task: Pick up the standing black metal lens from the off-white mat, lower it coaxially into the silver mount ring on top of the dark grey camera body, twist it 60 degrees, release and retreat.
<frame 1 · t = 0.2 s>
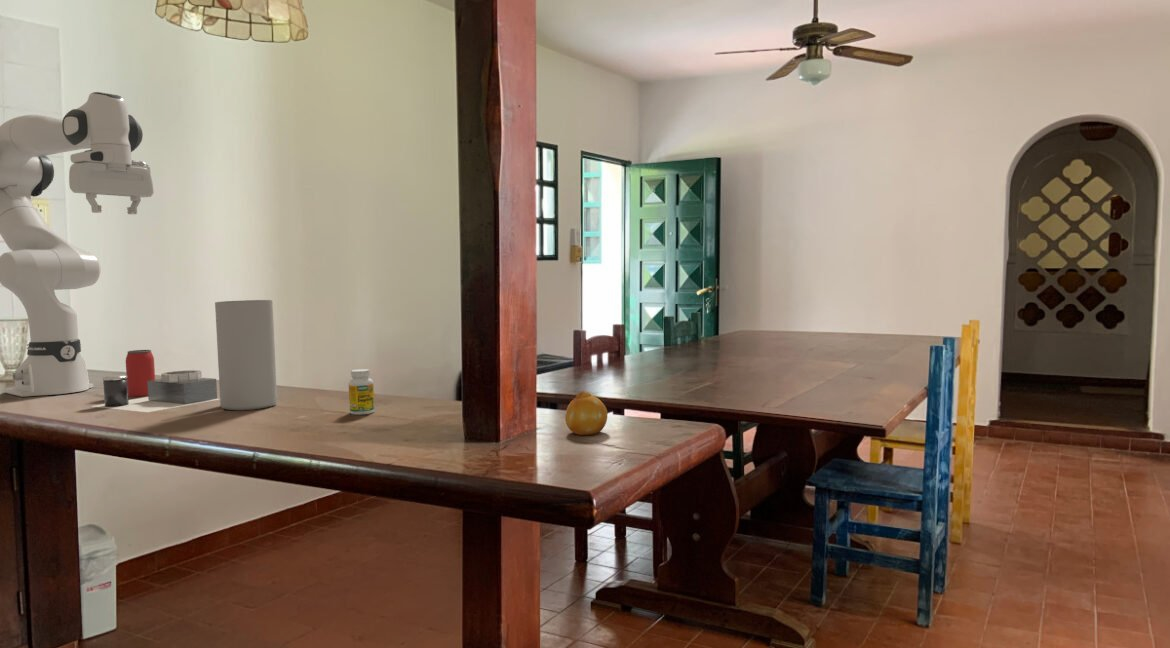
hand: (114, 213, 210), 47 cm above the breakfast bar, fingers open, 8 cm apart
supplement bottle: (362, 413, 186), on the breakfast bar
camera body: (182, 399, 208), resting on mat
lens: (116, 405, 201), resting on mat
beer can: (142, 397, 217), on the breakfast bar
fruit: (586, 434, 158), on the breakfast bar
cylinder vase: (249, 407, 198), on the breakfast bar
mat: (157, 404, 204), on the breakfast bar
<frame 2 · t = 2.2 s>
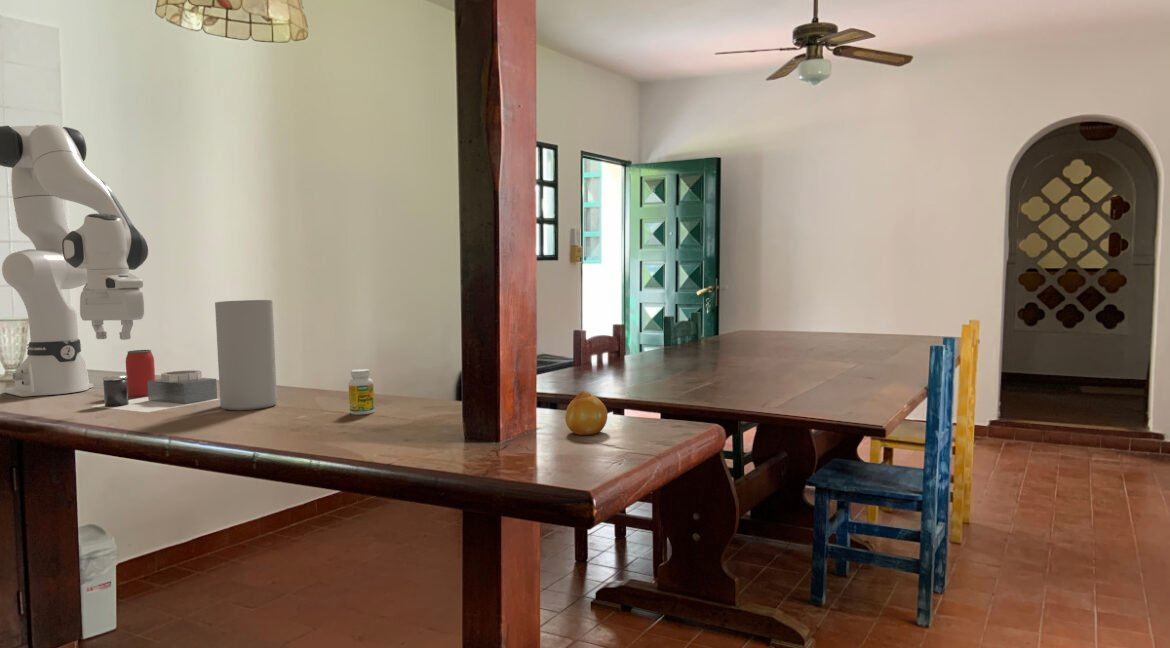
hand: (113, 339, 200), 16 cm above the breakfast bar, fingers open, 8 cm apart
nothing on the breakfast bar moved.
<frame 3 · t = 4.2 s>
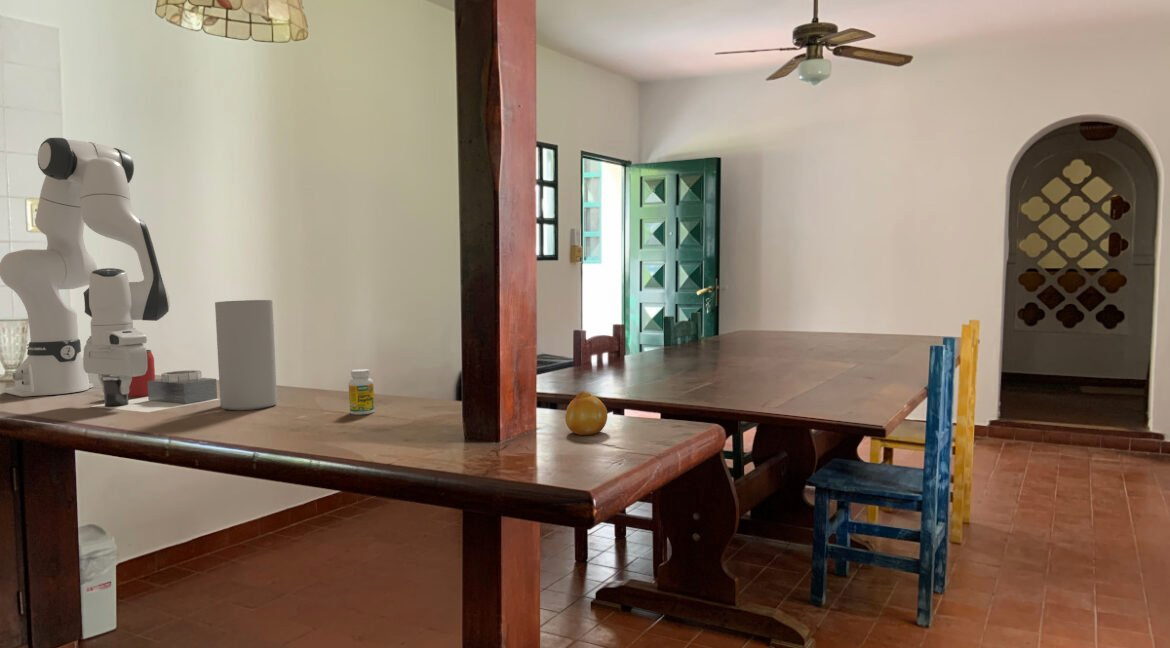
hand: (116, 393, 201), 3 cm above the breakfast bar, fingers closed on lens, 5 cm apart
lens: (116, 405, 201), resting on mat, touching gripper
everything else where it was.
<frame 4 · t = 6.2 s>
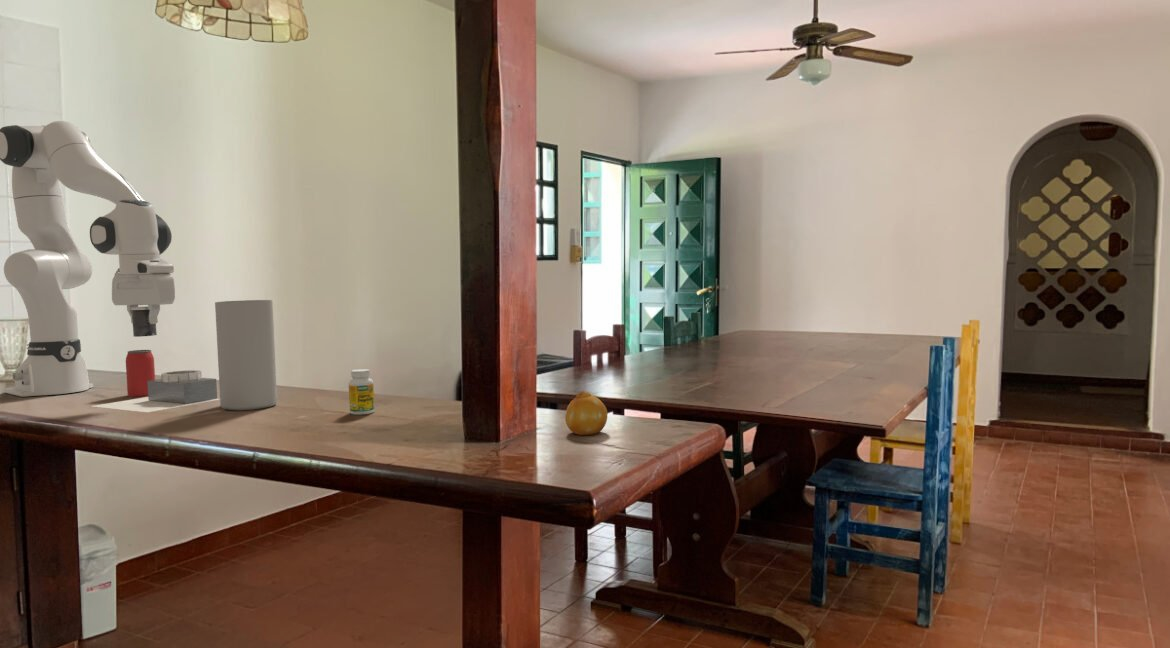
hand: (144, 323, 202), 20 cm above the breakfast bar, fingers closed on lens, 5 cm apart
lens: (145, 335, 203), point 17 cm above the breakfast bar, touching gripper
everything else where it was.
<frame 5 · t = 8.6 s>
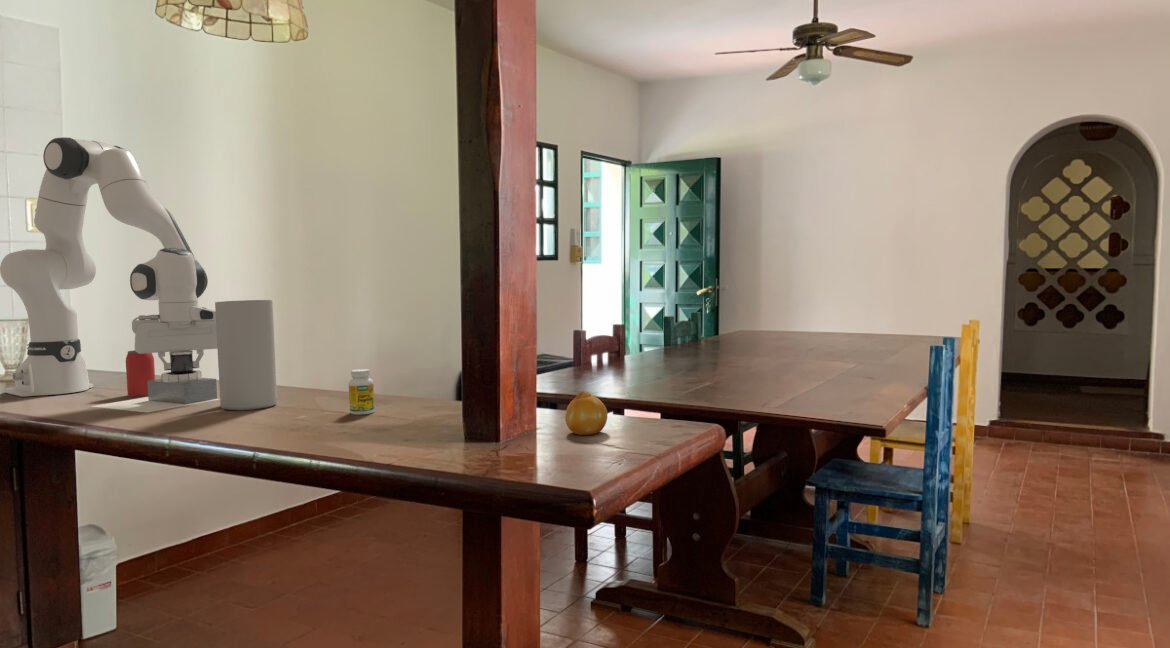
hand: (181, 369, 208), 8 cm above the breakfast bar, fingers closed on lens, 5 cm apart
lens: (182, 379, 207), point 5 cm above the breakfast bar, touching gripper
everything else where it was.
when the fingers open (8 cm above the breakfast bar, at t = 9.5 s): lens stays where it is, resting on camera body.
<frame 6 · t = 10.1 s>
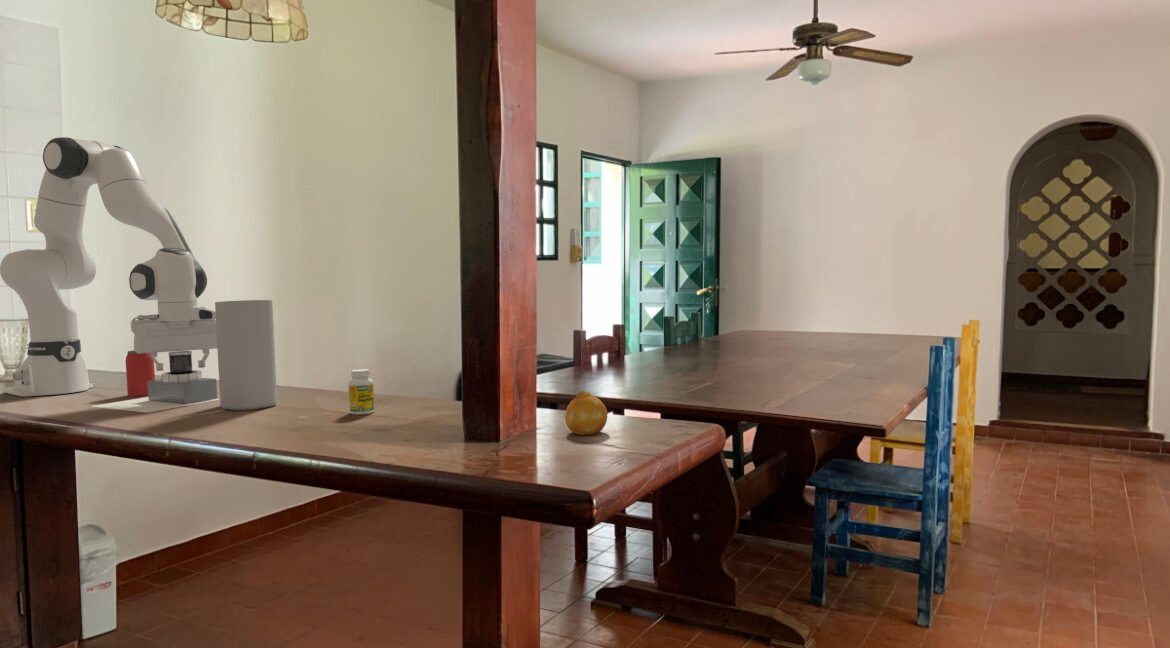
hand: (181, 369, 207), 8 cm above the breakfast bar, fingers open, 8 cm apart
lens: (181, 379, 207), point 5 cm above the breakfast bar, touching camera body
everything else where it was.
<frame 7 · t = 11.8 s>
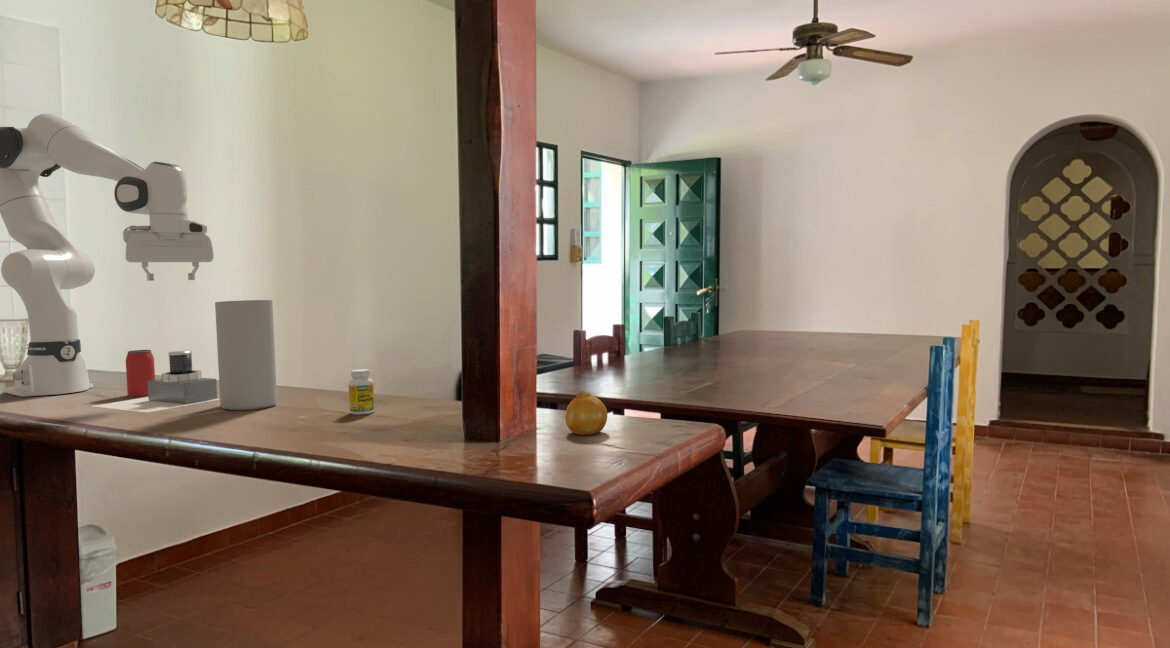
hand: (171, 280, 214), 30 cm above the breakfast bar, fingers open, 8 cm apart
nothing on the breakfast bar moved.
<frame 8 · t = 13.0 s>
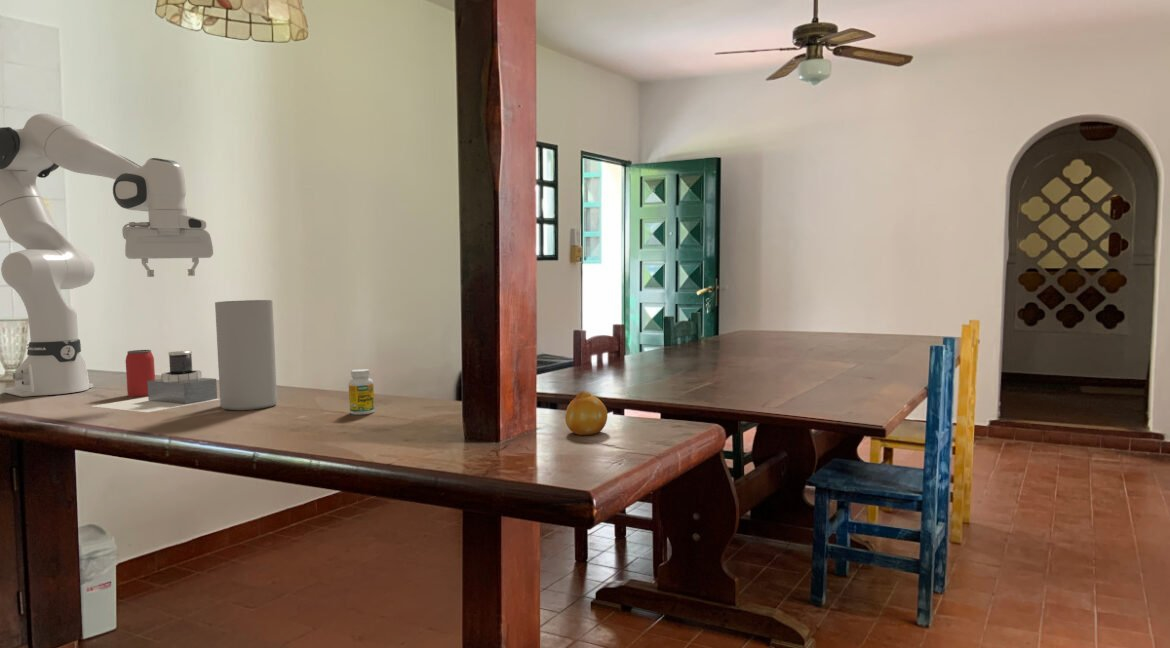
hand: (171, 276, 214), 31 cm above the breakfast bar, fingers open, 8 cm apart
nothing on the breakfast bar moved.
at the end: lens 0.1 cm off-centre on the camera body, point 5.0 cm above the camera body's base; lens tilted 0°; the gripper is holding nothing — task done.
